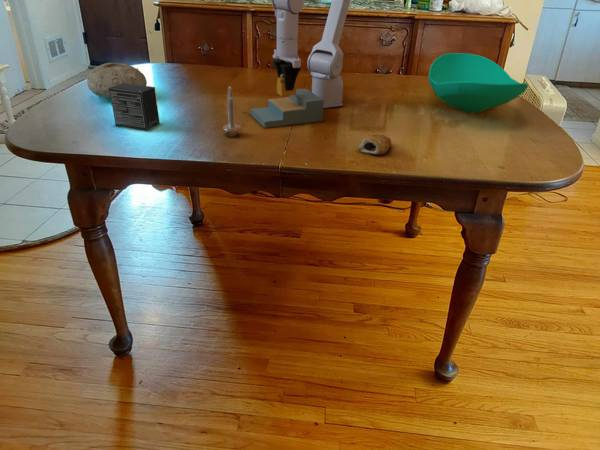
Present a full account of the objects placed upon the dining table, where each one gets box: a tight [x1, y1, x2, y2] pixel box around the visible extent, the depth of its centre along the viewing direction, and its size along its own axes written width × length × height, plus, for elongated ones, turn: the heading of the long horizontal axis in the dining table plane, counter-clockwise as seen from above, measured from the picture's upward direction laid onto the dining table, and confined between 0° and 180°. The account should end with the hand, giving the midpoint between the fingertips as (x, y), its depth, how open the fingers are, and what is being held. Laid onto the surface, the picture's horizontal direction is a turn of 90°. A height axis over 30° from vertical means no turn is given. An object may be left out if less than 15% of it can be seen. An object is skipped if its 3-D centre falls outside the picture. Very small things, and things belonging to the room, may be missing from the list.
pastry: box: [358, 134, 392, 156], centre depth 115 cm, size 9×7×4 cm
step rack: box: [250, 88, 324, 129], centre depth 133 cm, size 18×12×6 cm, turn 114°
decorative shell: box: [86, 61, 148, 99], centre depth 144 cm, size 18×18×10 cm
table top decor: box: [428, 52, 529, 114], centre depth 143 cm, size 40×28×13 cm
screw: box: [222, 85, 242, 138], centre depth 118 cm, size 13×5×5 cm
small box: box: [108, 83, 161, 132], centre depth 123 cm, size 11×6×10 cm, turn 71°
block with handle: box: [276, 74, 298, 97], centre depth 129 cm, size 5×4×6 cm
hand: (286, 88), depth 130 cm, fingers closed on block with handle, 3 cm apart
